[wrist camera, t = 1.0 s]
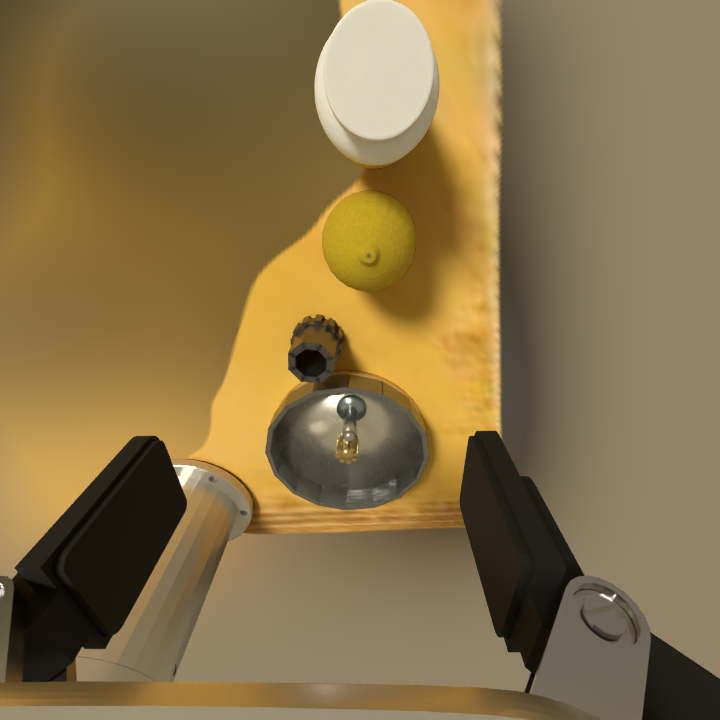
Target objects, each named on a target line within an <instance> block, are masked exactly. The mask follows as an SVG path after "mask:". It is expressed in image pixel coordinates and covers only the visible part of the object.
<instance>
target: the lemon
mask: <svg viewBox="0 0 720 720" xmlns="http://www.w3.org/2000/svg"><path fill="white" fill-rule="evenodd" d="M322 248H323V252H324V257H325V260H326V262H327V264H328V266H329V268H330V270H331V271H332V273H333V274H334V275H335V276H336V277H337V279H338V280H340V281H341V282H342V283H344V284H345V285H346V286H348V287H351V288H353V289H356V290H360V291H367V292H369V291H379V290H381V289H384V288H387V287H389V286H391V285H392V284H394V283H395V282H397V281H398V280H399V279H400V278H401V277H402V276H403V275H404V274H405V273H406V271H407V270H408V268H409V266H410V264H411V263H412V260H413V257H414V253H415V249H416V232H415V228H414V223H413V221H412V219H411V217H410V215H409V213H408V211H407V210H406V209H405V207H404V206H403V205H402V204H401V203H400V202H399V201H398V200H396V199H395V198H393V197H392V196H390V195H389V194H385V193H382V192H379V191H361V192H357V193H353V194H351V195H349V196H348V197H346V198H344V199H343V200H341V201H340V202H339V203H338V204H337V205H336V206H335V207H334V208H333V209H332V211H331V213H330V215H329V216H328V218H327V220H326V222H325V226H324V230H323V237H322Z"/></svg>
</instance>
